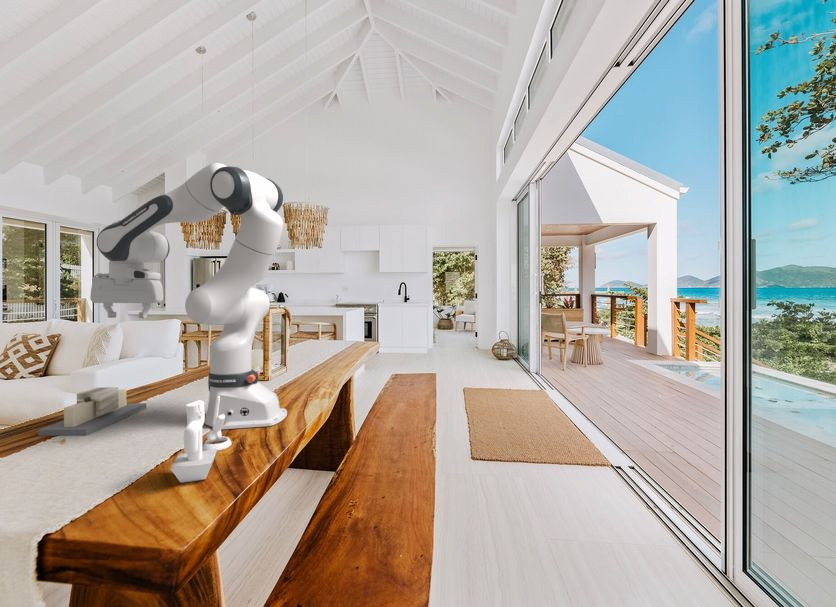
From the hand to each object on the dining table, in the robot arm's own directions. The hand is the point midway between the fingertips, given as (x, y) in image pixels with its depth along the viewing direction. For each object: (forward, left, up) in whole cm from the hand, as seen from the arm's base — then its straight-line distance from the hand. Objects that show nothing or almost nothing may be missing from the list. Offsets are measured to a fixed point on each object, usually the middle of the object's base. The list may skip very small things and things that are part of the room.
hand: (127, 317), depth 123 cm
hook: (-41, +30, -29) cm, 59 cm away
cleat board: (+2, +10, -29) cm, 31 cm away
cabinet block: (+2, +10, -27) cm, 28 cm away
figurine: (-44, +46, -29) cm, 70 cm away
